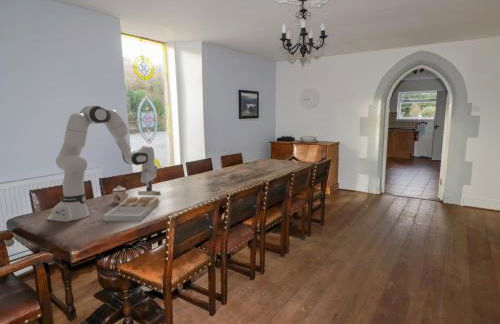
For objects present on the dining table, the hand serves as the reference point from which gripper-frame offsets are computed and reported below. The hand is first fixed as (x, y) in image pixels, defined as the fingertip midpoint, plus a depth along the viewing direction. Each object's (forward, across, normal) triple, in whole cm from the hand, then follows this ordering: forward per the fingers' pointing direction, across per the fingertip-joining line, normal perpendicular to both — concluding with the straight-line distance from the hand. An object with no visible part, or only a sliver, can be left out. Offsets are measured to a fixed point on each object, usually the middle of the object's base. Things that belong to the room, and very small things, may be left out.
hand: (149, 186), depth 216 cm
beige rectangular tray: (+10, -19, 0) cm, 21 cm away
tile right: (+5, -20, -4) cm, 22 cm away
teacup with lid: (+10, -6, +19) cm, 22 cm away
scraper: (+6, 0, 0) cm, 6 cm away
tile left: (+5, -20, +4) cm, 21 cm away
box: (+10, -36, 0) cm, 37 cm away
